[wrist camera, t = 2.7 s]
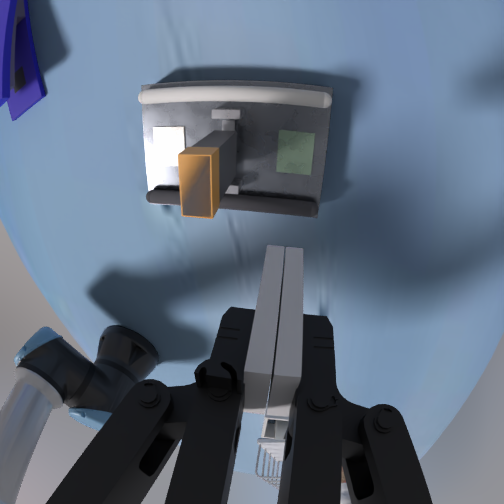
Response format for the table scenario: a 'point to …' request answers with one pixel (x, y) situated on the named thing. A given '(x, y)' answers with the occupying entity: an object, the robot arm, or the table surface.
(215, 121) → the breaker panel
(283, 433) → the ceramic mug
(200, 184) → the lever
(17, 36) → the stapler
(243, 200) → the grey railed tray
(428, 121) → the table surface
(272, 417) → the mug tray
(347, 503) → the fruit juice
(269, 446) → the file sorter
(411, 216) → the table surface
